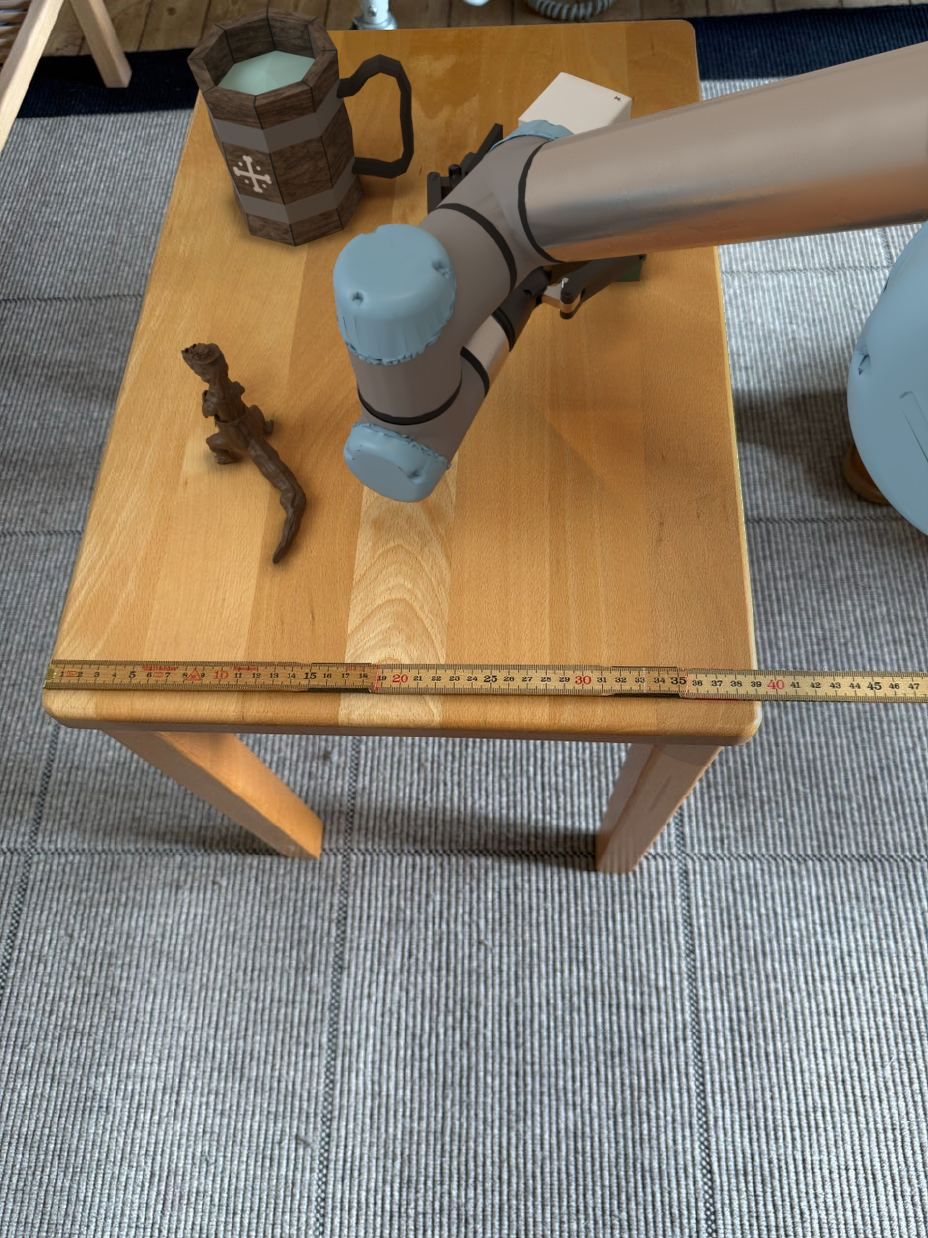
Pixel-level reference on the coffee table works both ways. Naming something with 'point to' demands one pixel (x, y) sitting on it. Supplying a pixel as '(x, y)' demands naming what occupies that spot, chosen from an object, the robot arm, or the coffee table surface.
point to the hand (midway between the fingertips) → (570, 155)
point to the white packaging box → (578, 105)
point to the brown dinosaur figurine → (244, 433)
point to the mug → (290, 122)
